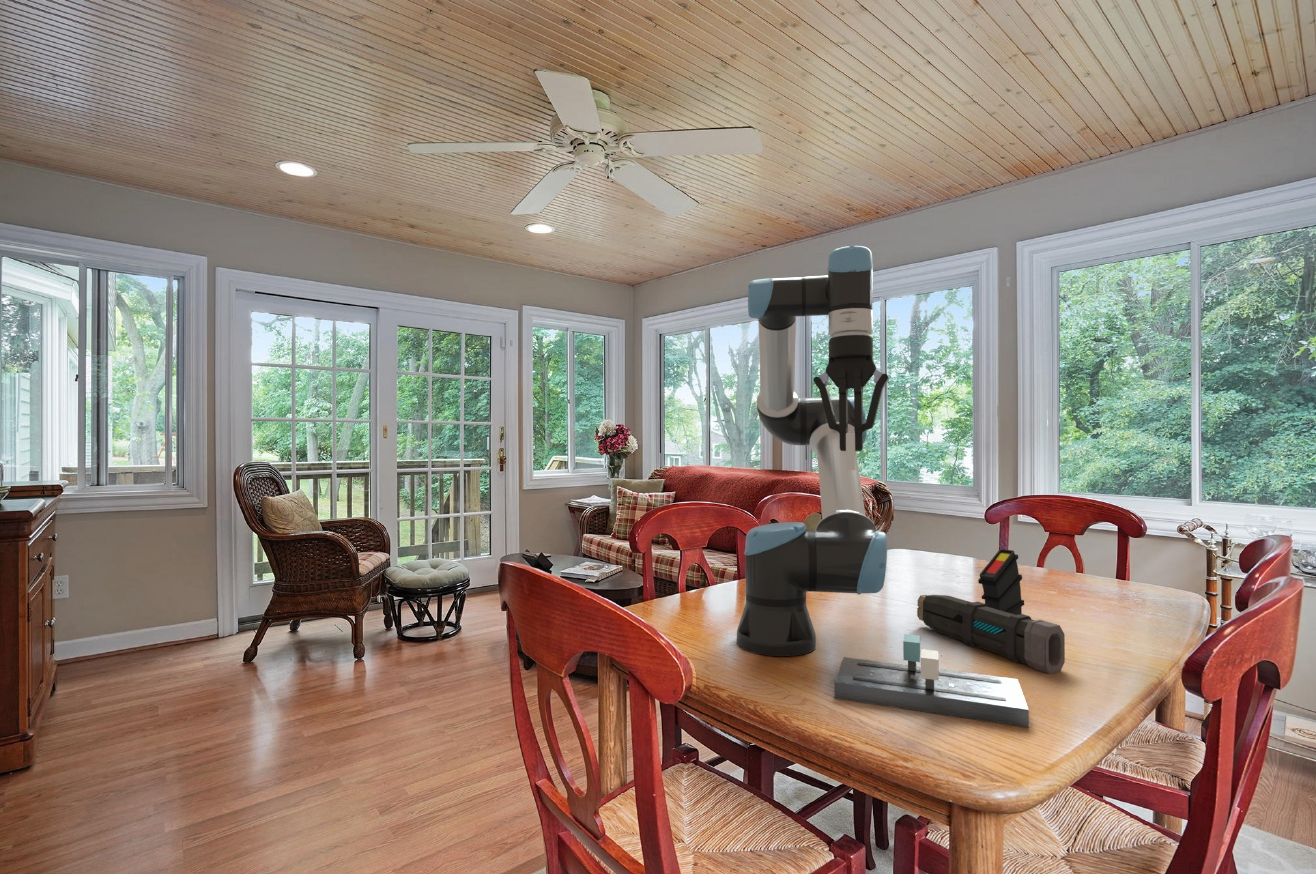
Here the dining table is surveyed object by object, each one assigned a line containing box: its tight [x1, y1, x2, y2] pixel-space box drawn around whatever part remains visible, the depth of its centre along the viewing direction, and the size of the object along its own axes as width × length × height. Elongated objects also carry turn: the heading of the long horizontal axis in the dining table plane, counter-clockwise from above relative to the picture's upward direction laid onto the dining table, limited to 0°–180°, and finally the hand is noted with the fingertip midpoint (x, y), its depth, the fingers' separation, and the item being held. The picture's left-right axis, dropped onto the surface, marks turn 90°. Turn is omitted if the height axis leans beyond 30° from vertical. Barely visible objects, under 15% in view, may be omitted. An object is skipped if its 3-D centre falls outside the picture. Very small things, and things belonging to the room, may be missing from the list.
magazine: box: [977, 548, 1025, 615], centre depth 138 cm, size 4×13×15 cm, turn 127°
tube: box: [916, 594, 1066, 675], centre depth 120 cm, size 11×7×30 cm
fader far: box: [902, 633, 921, 671], centre depth 101 cm, size 2×4×5 cm, turn 157°
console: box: [833, 656, 1030, 729], centre depth 97 cm, size 26×12×3 cm, turn 67°
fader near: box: [920, 648, 940, 689], centre depth 94 cm, size 2×4×5 cm, turn 157°
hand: (851, 469), depth 111 cm, fingers closed
